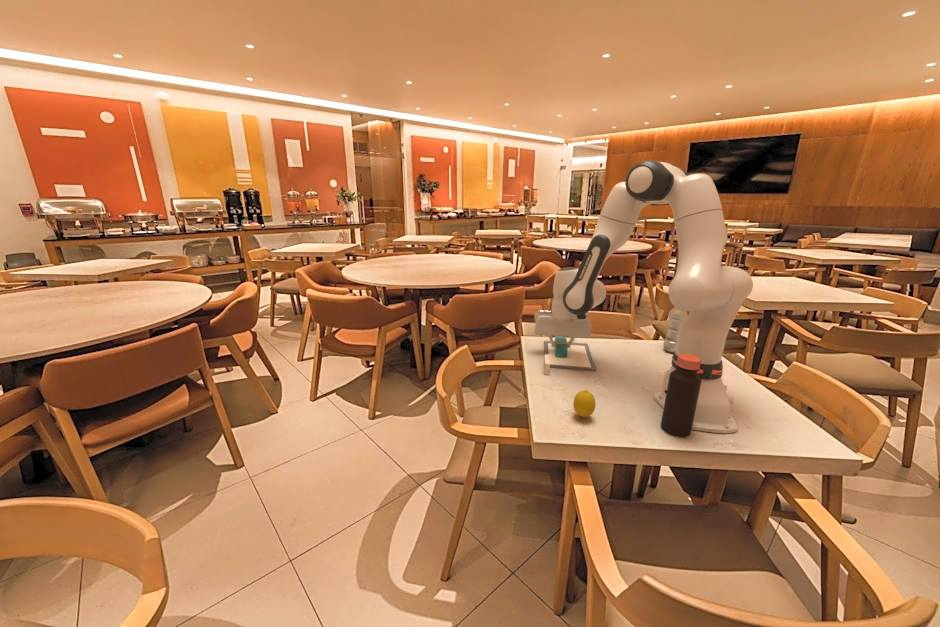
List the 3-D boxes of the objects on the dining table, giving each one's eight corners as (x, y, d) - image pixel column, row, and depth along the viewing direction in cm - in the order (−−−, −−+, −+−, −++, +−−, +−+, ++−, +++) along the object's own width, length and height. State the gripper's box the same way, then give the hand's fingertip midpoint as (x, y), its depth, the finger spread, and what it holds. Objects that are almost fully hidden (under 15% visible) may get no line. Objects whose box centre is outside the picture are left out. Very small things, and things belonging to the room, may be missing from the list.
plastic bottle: (664, 353, 143) (672, 302, 137) (660, 347, 149) (669, 298, 143) (682, 355, 141) (692, 304, 135) (679, 349, 147) (688, 299, 141)
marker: (566, 357, 135) (567, 346, 134) (555, 356, 136) (556, 346, 135) (564, 344, 148) (565, 334, 146) (554, 343, 148) (554, 333, 147)
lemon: (570, 411, 103) (572, 385, 101) (590, 411, 103) (593, 385, 100) (574, 422, 98) (577, 395, 95) (596, 423, 98) (599, 395, 95)
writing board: (595, 371, 127) (596, 368, 127) (544, 367, 130) (545, 364, 130) (587, 345, 150) (587, 343, 150) (543, 342, 153) (544, 340, 152)
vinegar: (660, 433, 94) (673, 359, 88) (660, 420, 100) (673, 350, 94) (691, 441, 91) (707, 365, 85) (689, 426, 97) (704, 355, 91)
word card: (549, 375, 124) (550, 364, 123) (544, 374, 124) (545, 363, 123) (548, 365, 132) (549, 354, 131) (543, 364, 132) (544, 354, 131)
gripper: (534, 312, 135) (532, 348, 139) (593, 315, 132) (589, 352, 136) (534, 307, 141) (532, 341, 145) (591, 310, 138) (587, 345, 142)
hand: (560, 346), depth 140 cm, fingers closed on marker, 4 cm apart
